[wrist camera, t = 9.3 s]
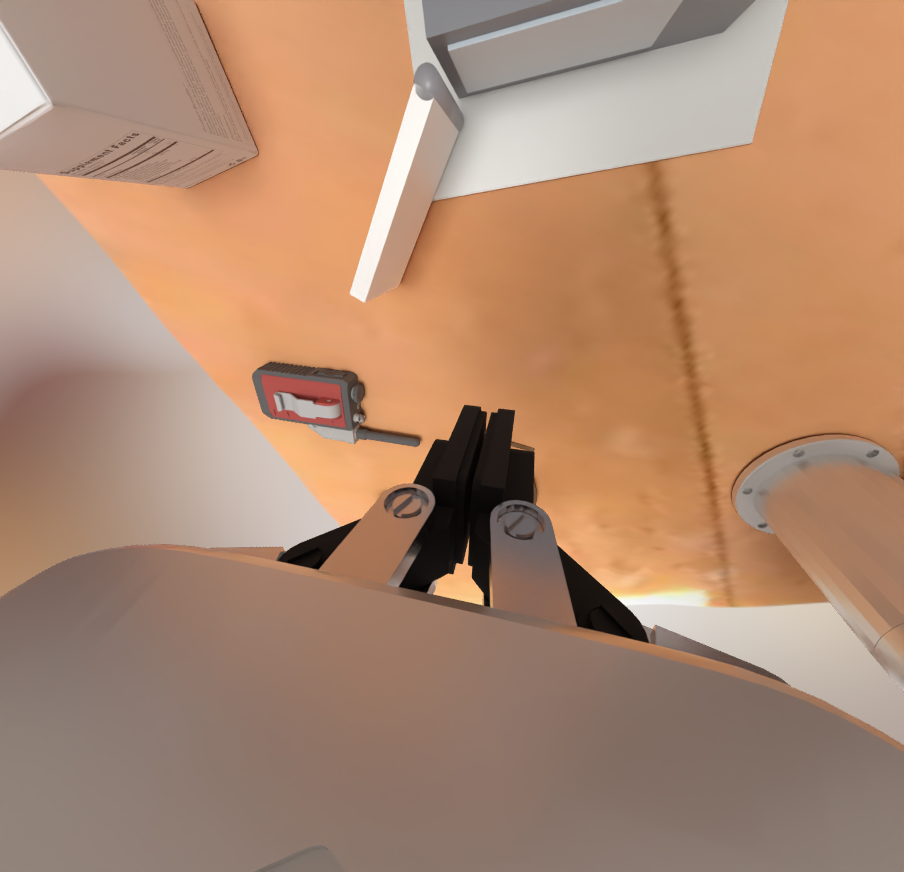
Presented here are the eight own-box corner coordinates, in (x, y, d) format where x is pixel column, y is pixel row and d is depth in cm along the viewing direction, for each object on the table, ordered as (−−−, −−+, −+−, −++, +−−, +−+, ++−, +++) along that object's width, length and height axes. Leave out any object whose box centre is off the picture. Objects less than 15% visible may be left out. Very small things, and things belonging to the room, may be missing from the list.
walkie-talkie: (276, 421, 44) (422, 444, 41) (253, 439, 40) (412, 465, 37) (258, 357, 39) (423, 378, 36) (230, 370, 35) (411, 395, 32)
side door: (399, 287, 30) (365, 303, 24) (385, 279, 30) (348, 293, 24) (467, 114, 23) (444, 72, 17) (449, 102, 23) (420, 55, 17)
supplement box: (113, 54, 26) (-268, -104, 14) (196, -3, 23) (-180, -261, 11) (185, 192, 30) (-51, 169, 18) (262, 158, 28) (48, 103, 15)
